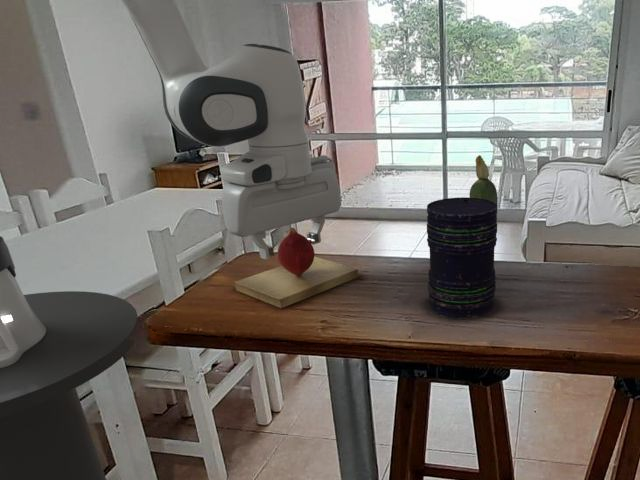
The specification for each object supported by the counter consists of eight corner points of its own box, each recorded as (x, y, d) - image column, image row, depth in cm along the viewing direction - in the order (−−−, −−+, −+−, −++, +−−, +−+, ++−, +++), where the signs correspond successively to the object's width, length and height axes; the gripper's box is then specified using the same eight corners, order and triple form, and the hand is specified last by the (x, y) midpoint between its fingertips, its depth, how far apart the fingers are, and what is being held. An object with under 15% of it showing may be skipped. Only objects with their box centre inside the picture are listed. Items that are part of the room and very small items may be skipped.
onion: (323, 275, 94) (318, 227, 90) (293, 284, 90) (287, 236, 87) (303, 266, 98) (298, 221, 94) (274, 276, 94) (267, 229, 91)
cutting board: (281, 308, 86) (279, 299, 85) (236, 290, 93) (234, 281, 92) (358, 277, 97) (357, 268, 96) (312, 263, 104) (311, 255, 103)
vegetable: (485, 271, 97) (487, 150, 89) (501, 278, 94) (505, 154, 85) (463, 276, 95) (464, 153, 87) (479, 284, 92) (481, 157, 83)
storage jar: (490, 322, 79) (492, 216, 73) (421, 316, 81) (418, 213, 75) (499, 294, 88) (502, 198, 82) (436, 290, 90) (434, 196, 84)
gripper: (320, 151, 95) (327, 232, 101) (210, 170, 81) (225, 262, 87) (346, 155, 92) (352, 238, 97) (235, 175, 78) (249, 271, 83)
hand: (291, 250), depth 92 cm, fingers open, 8 cm apart
